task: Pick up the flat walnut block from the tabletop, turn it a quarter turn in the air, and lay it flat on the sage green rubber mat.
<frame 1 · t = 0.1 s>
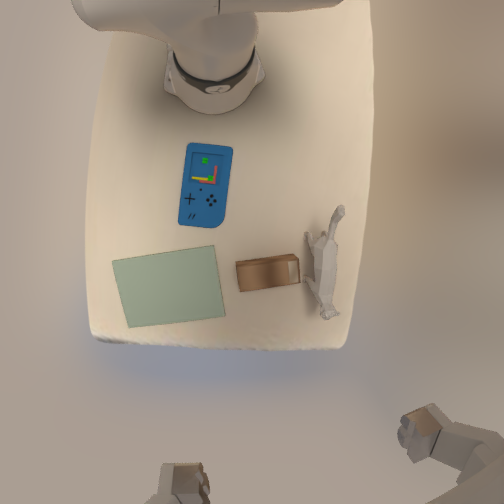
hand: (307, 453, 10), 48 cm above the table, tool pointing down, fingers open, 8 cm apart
rubber mat: (168, 288, 57), on the table
cat figurine: (313, 252, 59), on the table
walnut block: (265, 268, 58), on the table
handheld gaming device: (205, 185, 54), on the table
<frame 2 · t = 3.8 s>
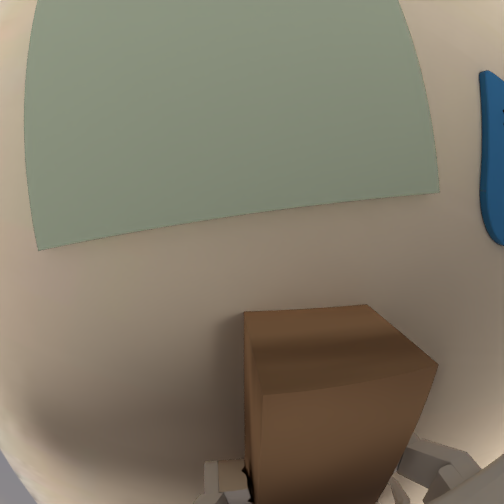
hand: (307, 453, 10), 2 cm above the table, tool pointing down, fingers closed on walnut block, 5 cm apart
walnut block: (296, 423, 11), on the table, touching gripper
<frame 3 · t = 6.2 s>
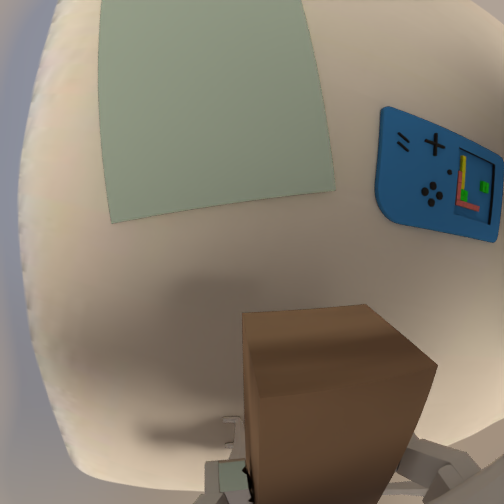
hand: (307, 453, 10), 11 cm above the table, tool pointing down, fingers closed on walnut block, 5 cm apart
rubber mat: (204, 54, 16), on the table
cat figurine: (292, 424, 23), on the table
walnut block: (297, 423, 11), point 9 cm above the table, touching gripper
handheld gaming device: (446, 182, 21), on the table
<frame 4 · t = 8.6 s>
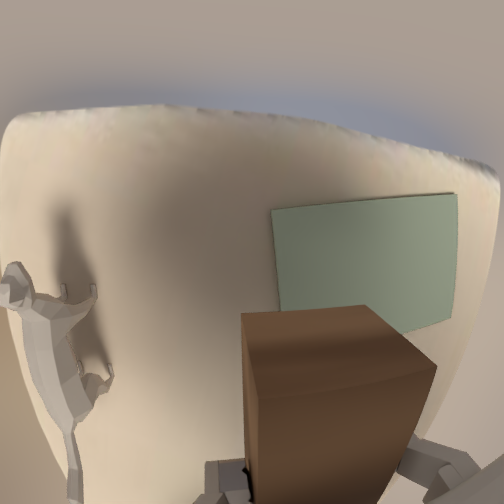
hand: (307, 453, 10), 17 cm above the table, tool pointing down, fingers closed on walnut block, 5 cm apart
rubber mat: (380, 273, 27), on the table
cat figurine: (89, 339, 26), on the table
walnut block: (296, 424, 11), point 15 cm above the table, touching gripper
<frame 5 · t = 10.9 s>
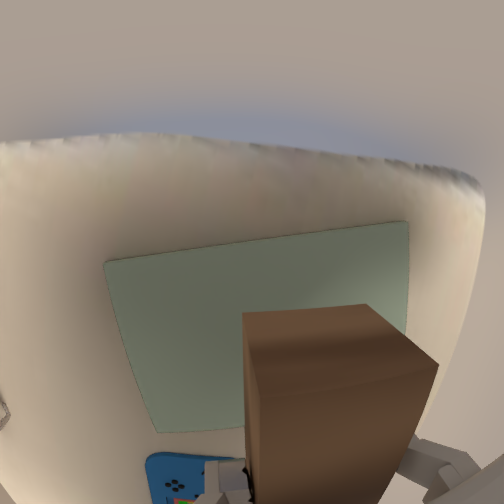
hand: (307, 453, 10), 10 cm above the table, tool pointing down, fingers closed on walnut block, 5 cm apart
rubber mat: (273, 341, 20), on the table
walnut block: (297, 423, 11), point 9 cm above the table, touching gripper
handheld gaming device: (190, 491, 23), on the table
when the fingers open (4 cm above the table, at t = 12.9 s): walnut block drops 1 cm, resting on rubber mat.
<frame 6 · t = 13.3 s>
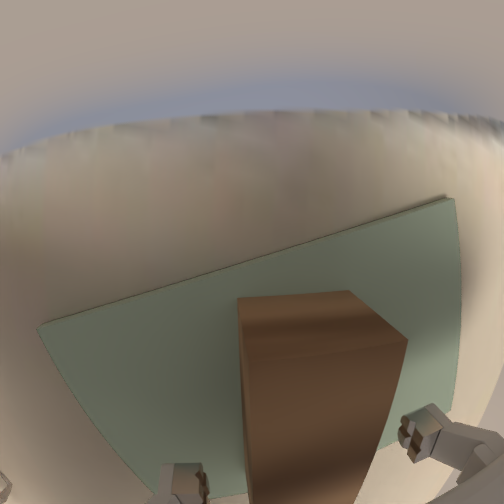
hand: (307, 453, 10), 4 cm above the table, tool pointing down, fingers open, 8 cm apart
rubber mat: (287, 396, 13), on the table
walnut block: (290, 403, 13), point 1 cm above the table, touching rubber mat
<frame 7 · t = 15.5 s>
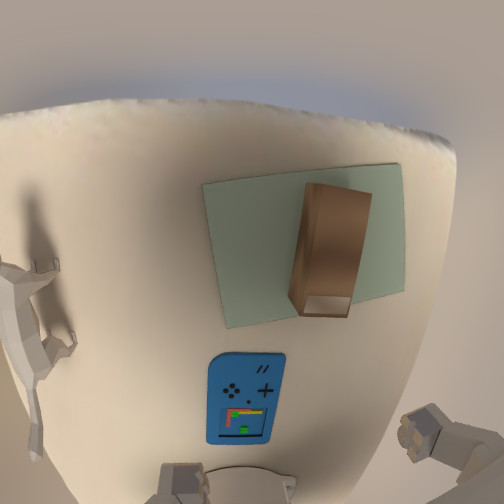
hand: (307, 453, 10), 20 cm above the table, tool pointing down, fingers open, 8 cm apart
rubber mat: (317, 243, 29), on the table
cat figurine: (55, 309, 28), on the table
walnut block: (319, 244, 29), point 1 cm above the table, touching rubber mat
handheld gaming device: (241, 401, 33), on the table
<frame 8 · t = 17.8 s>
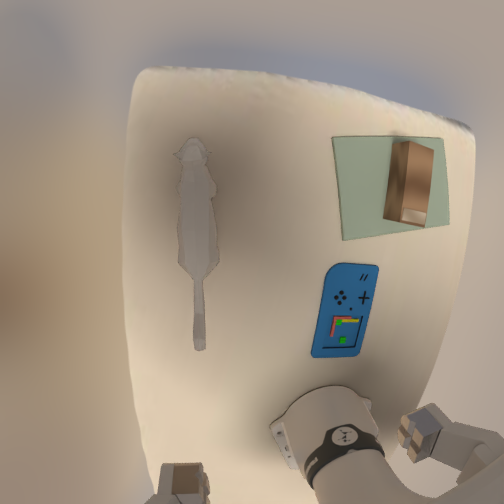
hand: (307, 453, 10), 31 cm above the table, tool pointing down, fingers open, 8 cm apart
rubber mat: (398, 184, 40), on the table
cat figurine: (200, 228, 39), on the table
walnut block: (400, 184, 39), point 1 cm above the table, touching rubber mat
handheld gaming device: (343, 311, 44), on the table
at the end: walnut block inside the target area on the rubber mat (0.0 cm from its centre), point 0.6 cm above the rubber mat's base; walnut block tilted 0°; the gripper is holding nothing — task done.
